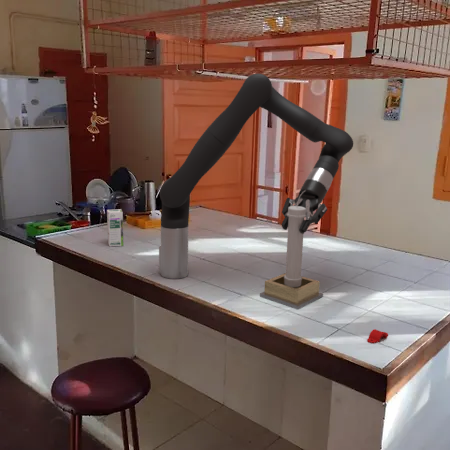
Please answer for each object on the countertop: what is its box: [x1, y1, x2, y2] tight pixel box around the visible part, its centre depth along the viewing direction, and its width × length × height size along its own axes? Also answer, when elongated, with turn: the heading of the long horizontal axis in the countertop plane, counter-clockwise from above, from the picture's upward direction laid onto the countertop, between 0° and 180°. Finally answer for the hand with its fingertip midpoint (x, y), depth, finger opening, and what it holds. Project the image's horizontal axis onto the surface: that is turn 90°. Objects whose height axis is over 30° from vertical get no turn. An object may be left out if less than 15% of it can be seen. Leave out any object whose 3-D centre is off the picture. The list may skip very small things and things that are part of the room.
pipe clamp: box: [366, 328, 389, 344], centre depth 129 cm, size 8×3×2 cm, turn 133°
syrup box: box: [106, 208, 124, 247], centre depth 204 cm, size 6×6×14 cm
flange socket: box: [259, 272, 324, 310], centre depth 154 cm, size 14×14×5 cm
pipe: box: [284, 191, 306, 287], centre depth 151 cm, size 6×6×30 cm
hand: (292, 230), depth 149 cm, fingers closed on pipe, 5 cm apart
